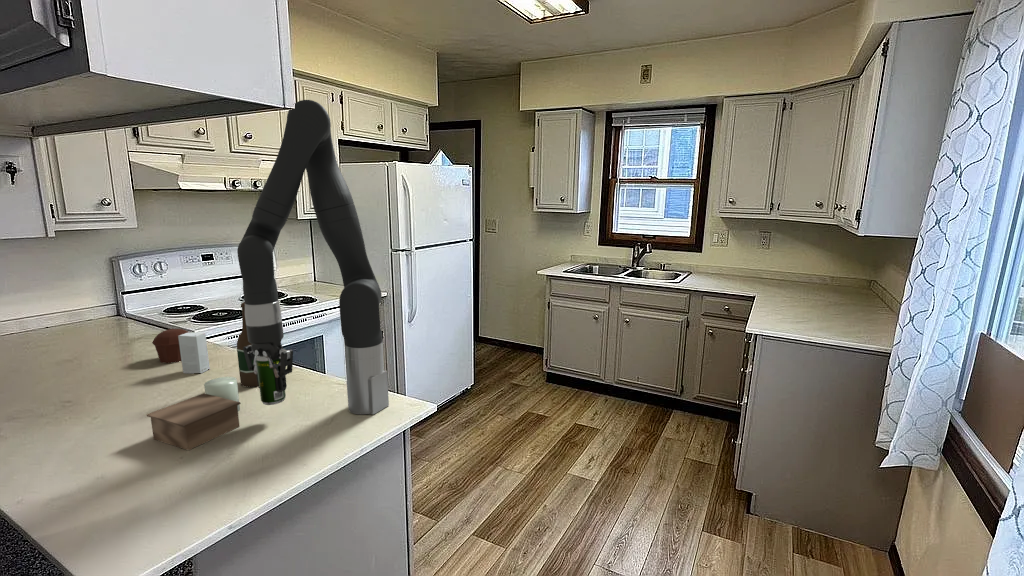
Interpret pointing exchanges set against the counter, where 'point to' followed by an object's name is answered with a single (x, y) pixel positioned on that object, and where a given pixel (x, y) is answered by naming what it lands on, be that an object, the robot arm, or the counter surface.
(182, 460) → the counter surface
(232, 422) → the podium
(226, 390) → the pale green capsule
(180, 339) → the skincare box
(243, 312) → the beer bottle
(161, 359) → the muffin
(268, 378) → the beer can
